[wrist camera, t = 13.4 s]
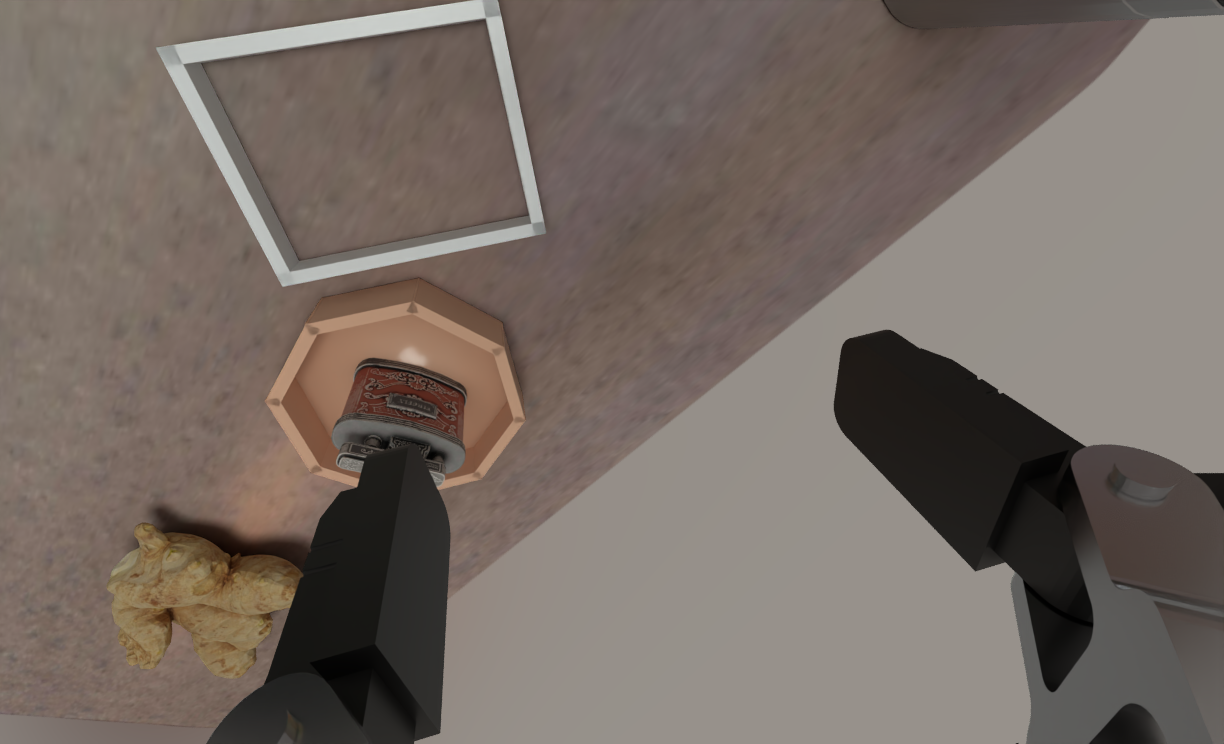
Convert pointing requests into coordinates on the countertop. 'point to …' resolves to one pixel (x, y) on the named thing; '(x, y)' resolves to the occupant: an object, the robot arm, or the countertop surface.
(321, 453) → the bowl
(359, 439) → the lighter
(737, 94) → the countertop surface
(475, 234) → the open rectangular frame
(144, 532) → the ginger root
